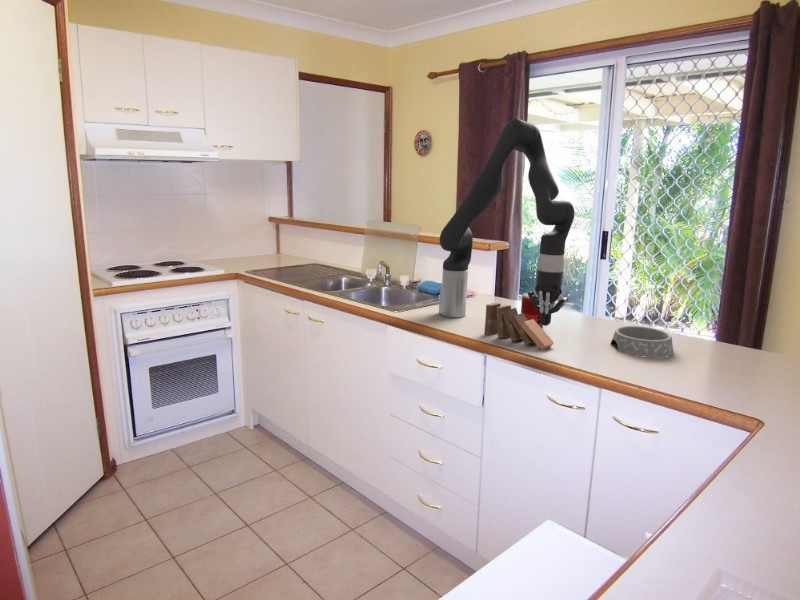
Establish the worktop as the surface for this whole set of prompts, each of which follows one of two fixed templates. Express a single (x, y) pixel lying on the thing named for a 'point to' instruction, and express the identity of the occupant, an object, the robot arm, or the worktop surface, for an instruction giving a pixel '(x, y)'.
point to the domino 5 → (537, 334)
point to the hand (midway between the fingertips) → (544, 324)
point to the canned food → (530, 309)
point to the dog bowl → (643, 341)
